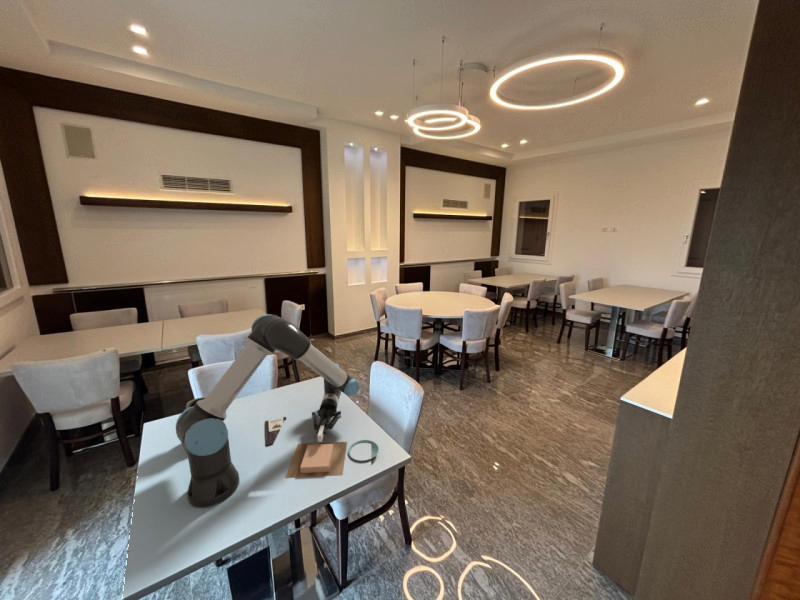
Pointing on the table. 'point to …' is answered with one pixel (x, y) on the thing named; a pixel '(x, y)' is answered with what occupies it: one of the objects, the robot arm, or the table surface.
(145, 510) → the table surface
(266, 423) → the chocolate bar
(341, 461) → the board
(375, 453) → the saucer
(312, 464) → the tile
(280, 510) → the table surface
